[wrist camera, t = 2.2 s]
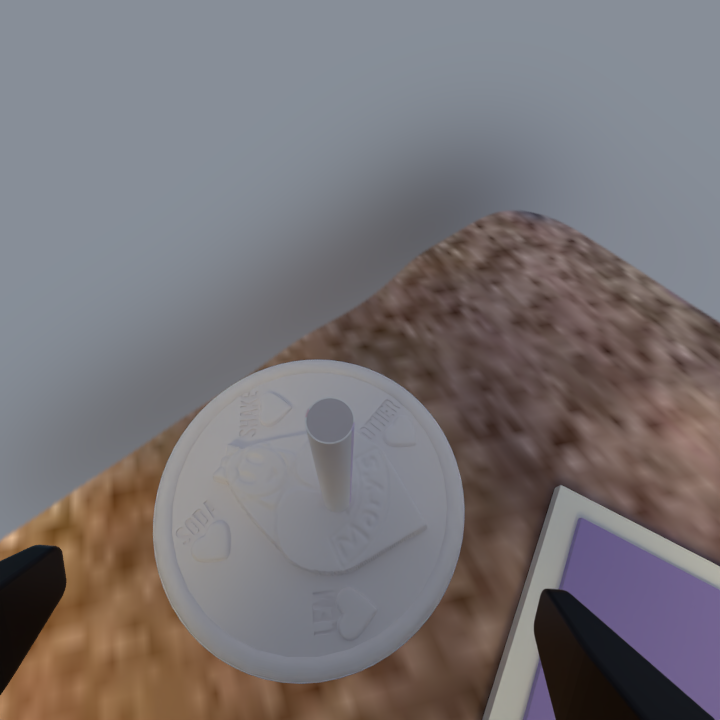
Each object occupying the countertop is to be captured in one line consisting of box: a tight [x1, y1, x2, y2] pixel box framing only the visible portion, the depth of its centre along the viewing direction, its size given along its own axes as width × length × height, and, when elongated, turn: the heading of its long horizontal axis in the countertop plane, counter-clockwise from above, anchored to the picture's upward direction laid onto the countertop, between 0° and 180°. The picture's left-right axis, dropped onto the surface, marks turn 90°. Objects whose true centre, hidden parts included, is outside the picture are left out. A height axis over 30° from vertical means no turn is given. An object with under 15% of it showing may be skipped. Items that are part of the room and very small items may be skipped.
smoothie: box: [153, 360, 465, 684], centre depth 11 cm, size 6×6×14 cm
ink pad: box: [482, 485, 720, 720], centre depth 14 cm, size 11×11×1 cm
